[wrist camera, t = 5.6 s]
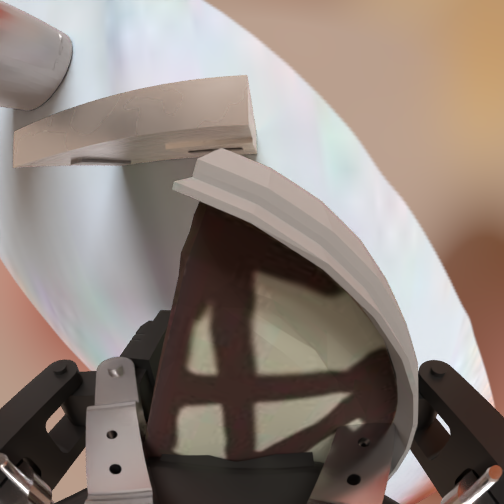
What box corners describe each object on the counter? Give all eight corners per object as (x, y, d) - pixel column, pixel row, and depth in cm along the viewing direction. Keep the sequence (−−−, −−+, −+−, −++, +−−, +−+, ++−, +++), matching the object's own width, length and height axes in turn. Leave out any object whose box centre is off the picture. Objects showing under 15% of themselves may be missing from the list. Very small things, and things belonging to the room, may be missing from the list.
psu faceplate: (121, 169, 21) (13, 173, 9) (121, 144, 20) (13, 131, 8) (257, 157, 20) (248, 132, 8) (256, 130, 20) (247, 75, 8)
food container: (278, 403, 16) (284, 550, 6) (182, 376, 15) (130, 522, 6) (371, 212, 12) (545, 296, 3) (246, 165, 12) (190, 127, 2)
